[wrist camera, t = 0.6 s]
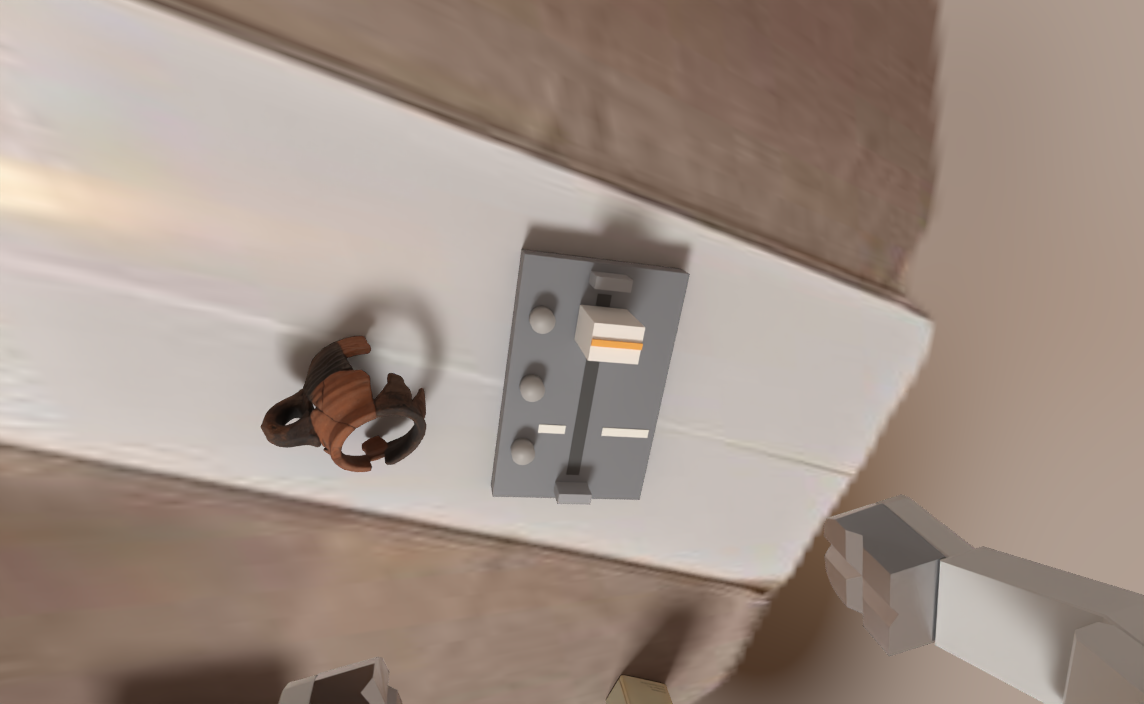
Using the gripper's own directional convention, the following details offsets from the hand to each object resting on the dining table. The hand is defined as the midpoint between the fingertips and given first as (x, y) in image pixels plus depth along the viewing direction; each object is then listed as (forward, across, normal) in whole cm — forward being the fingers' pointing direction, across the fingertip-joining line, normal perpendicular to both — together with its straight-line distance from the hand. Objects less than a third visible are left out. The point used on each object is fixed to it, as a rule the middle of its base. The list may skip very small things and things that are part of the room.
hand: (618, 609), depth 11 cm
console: (+40, -6, +14) cm, 43 cm away
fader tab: (+38, -8, +9) cm, 40 cm away
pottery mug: (+40, +14, +10) cm, 44 cm away
